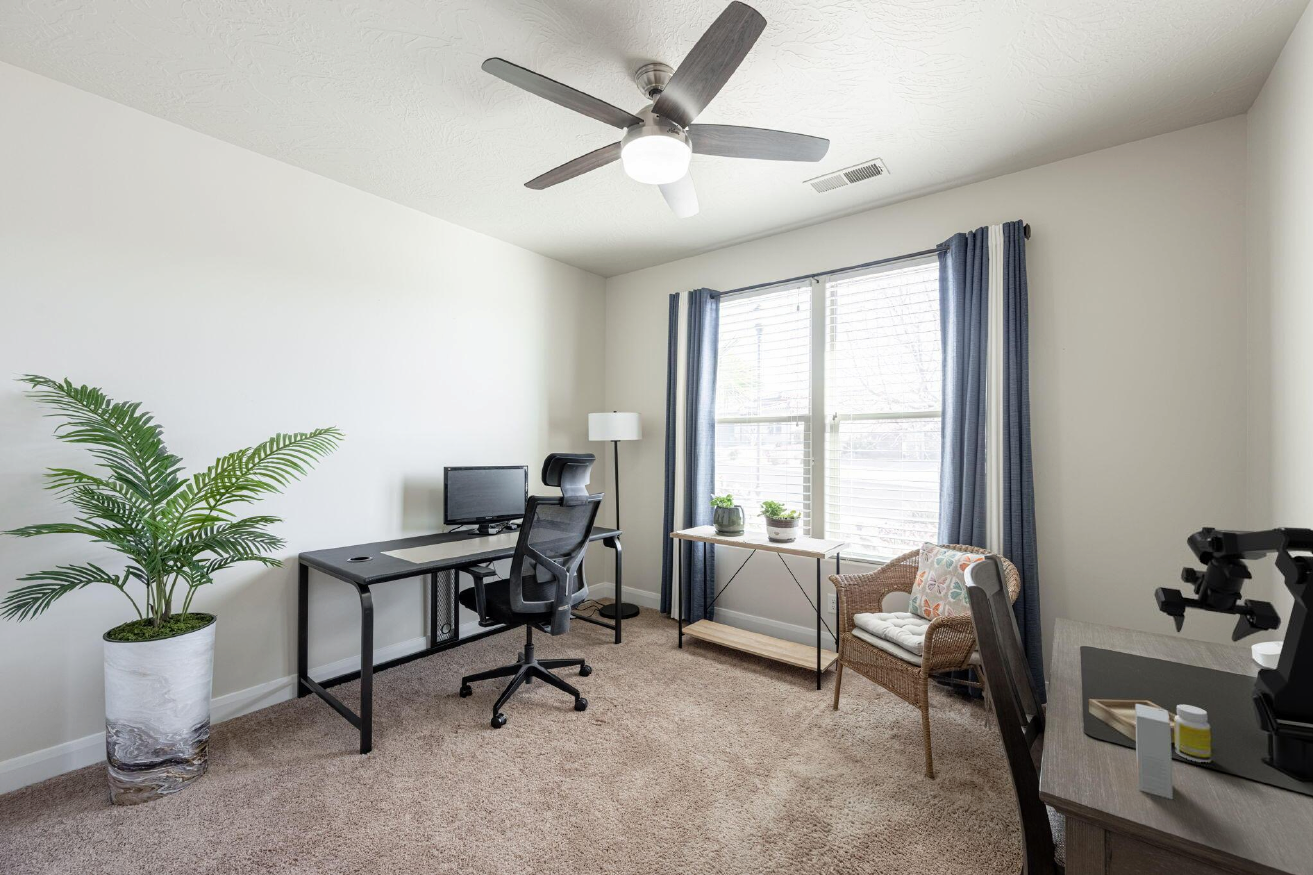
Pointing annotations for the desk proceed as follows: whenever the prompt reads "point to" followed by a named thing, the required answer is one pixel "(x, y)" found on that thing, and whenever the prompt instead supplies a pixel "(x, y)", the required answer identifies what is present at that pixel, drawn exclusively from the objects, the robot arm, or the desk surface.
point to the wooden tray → (1123, 714)
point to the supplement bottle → (1192, 734)
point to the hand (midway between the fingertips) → (1205, 635)
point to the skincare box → (1153, 751)
